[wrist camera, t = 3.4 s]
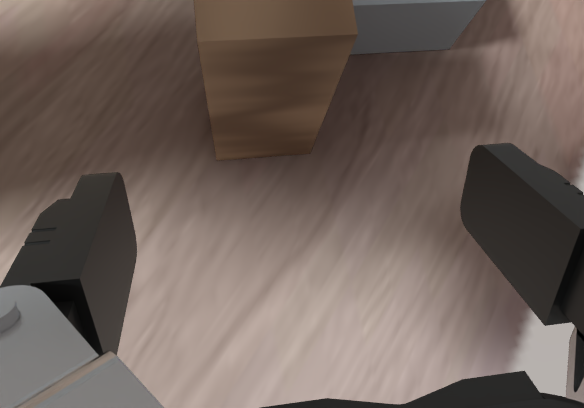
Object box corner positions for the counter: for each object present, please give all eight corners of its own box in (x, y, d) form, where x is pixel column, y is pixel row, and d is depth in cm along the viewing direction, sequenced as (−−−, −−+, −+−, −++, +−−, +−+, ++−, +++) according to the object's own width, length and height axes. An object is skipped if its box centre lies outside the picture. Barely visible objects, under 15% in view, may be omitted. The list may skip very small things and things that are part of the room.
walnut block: (216, 160, 23) (197, 41, 13) (209, 74, 24) (186, -96, 14) (310, 153, 23) (357, 34, 14) (298, 69, 24) (336, -97, 15)
